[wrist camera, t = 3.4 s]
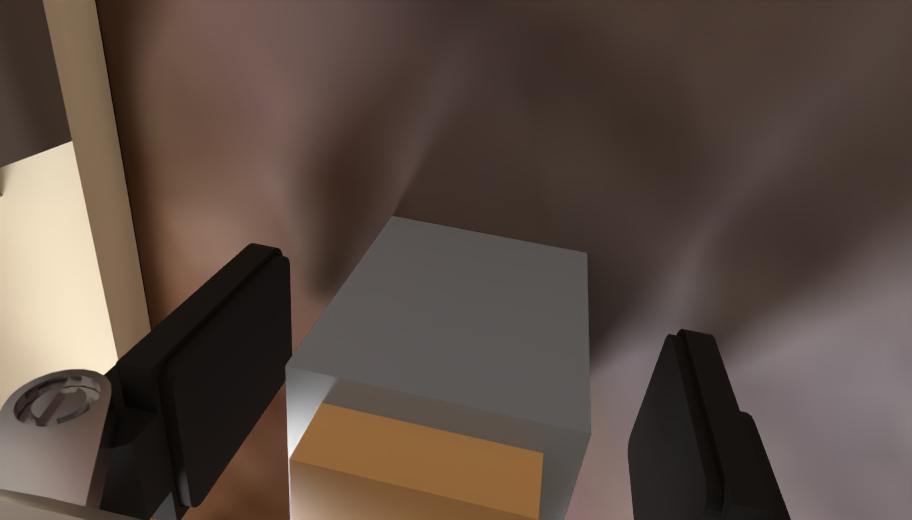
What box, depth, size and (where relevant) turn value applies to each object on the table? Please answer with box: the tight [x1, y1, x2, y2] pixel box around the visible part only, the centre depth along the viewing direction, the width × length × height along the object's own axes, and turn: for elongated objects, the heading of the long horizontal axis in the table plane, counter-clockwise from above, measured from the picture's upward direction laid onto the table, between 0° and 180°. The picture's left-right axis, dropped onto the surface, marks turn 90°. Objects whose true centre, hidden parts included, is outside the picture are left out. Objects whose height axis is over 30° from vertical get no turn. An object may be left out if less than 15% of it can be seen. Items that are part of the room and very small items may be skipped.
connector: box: [285, 216, 591, 520], centre depth 10 cm, size 4×4×6 cm
